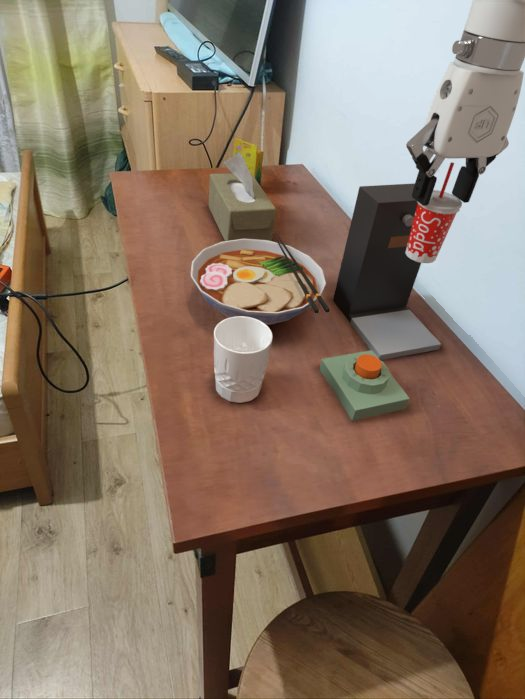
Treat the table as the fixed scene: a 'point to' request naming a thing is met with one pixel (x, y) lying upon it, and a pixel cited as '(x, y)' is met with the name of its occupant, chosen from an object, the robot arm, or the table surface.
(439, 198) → the beverage cup
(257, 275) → the ramen bowl
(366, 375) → the button
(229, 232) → the tissue box
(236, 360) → the white cup
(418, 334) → the coffee maker
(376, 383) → the brew pad
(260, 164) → the crayon box
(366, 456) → the table surface
